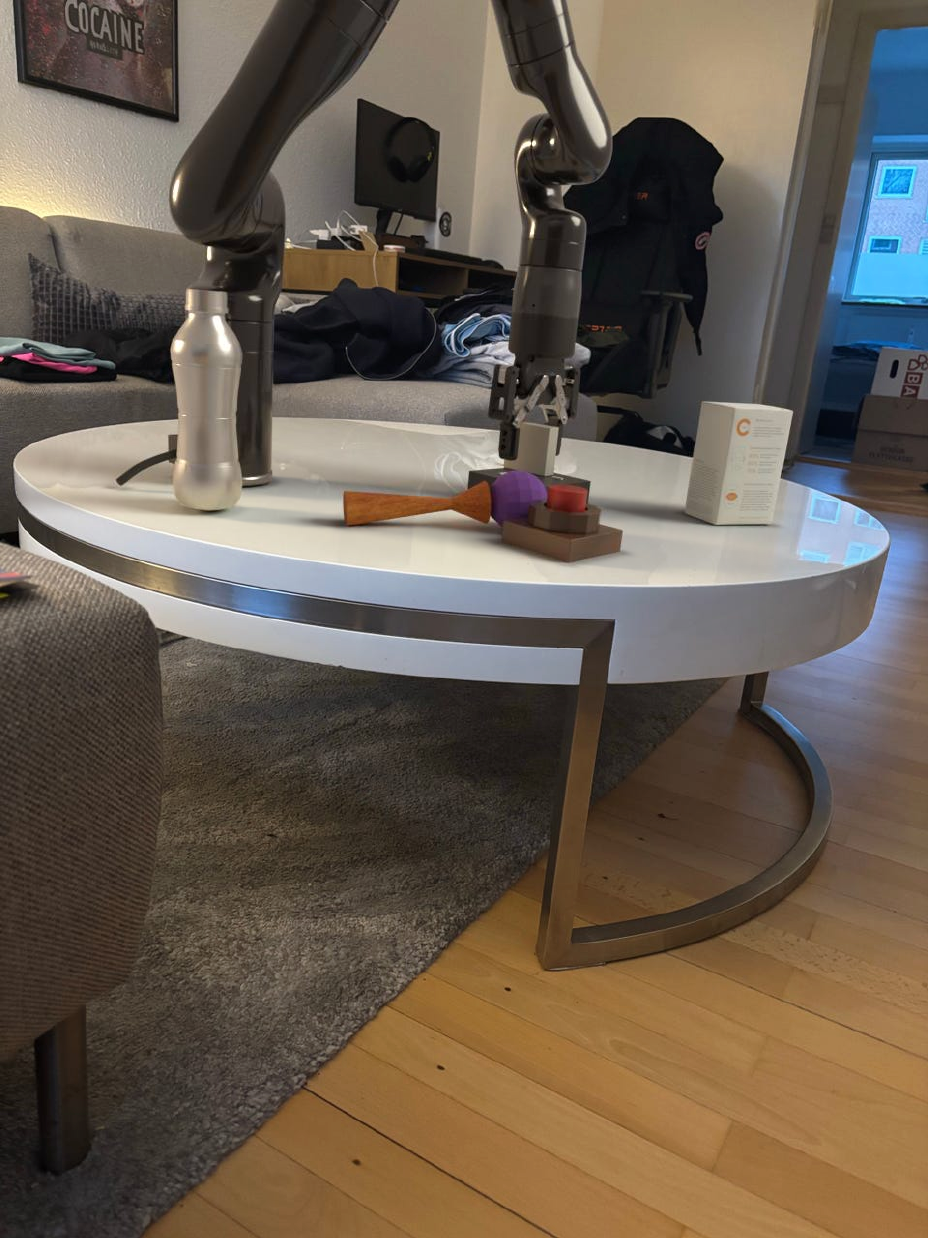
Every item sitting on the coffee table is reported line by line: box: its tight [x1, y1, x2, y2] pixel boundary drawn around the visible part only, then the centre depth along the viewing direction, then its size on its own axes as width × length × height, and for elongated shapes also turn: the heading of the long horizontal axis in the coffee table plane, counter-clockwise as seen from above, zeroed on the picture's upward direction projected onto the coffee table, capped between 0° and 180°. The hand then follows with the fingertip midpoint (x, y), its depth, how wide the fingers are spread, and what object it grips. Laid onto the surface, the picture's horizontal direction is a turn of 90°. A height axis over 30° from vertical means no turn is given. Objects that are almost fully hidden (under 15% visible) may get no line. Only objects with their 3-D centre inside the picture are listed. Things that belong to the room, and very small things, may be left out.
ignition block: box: [500, 499, 624, 564], centre depth 85 cm, size 8×8×4 cm
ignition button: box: [546, 484, 587, 512], centre depth 84 cm, size 4×4×2 cm
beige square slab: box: [503, 418, 559, 476], centre depth 107 cm, size 6×2×6 cm, turn 50°
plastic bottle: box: [170, 288, 243, 512], centre depth 85 cm, size 6×7×20 cm
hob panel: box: [466, 462, 592, 504], centre depth 107 cm, size 12×12×3 cm
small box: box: [684, 400, 794, 526], centre depth 104 cm, size 8×6×13 cm
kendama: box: [342, 470, 547, 529], centre depth 89 cm, size 6×6×20 cm
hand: (529, 457), depth 107 cm, fingers open, 8 cm apart
